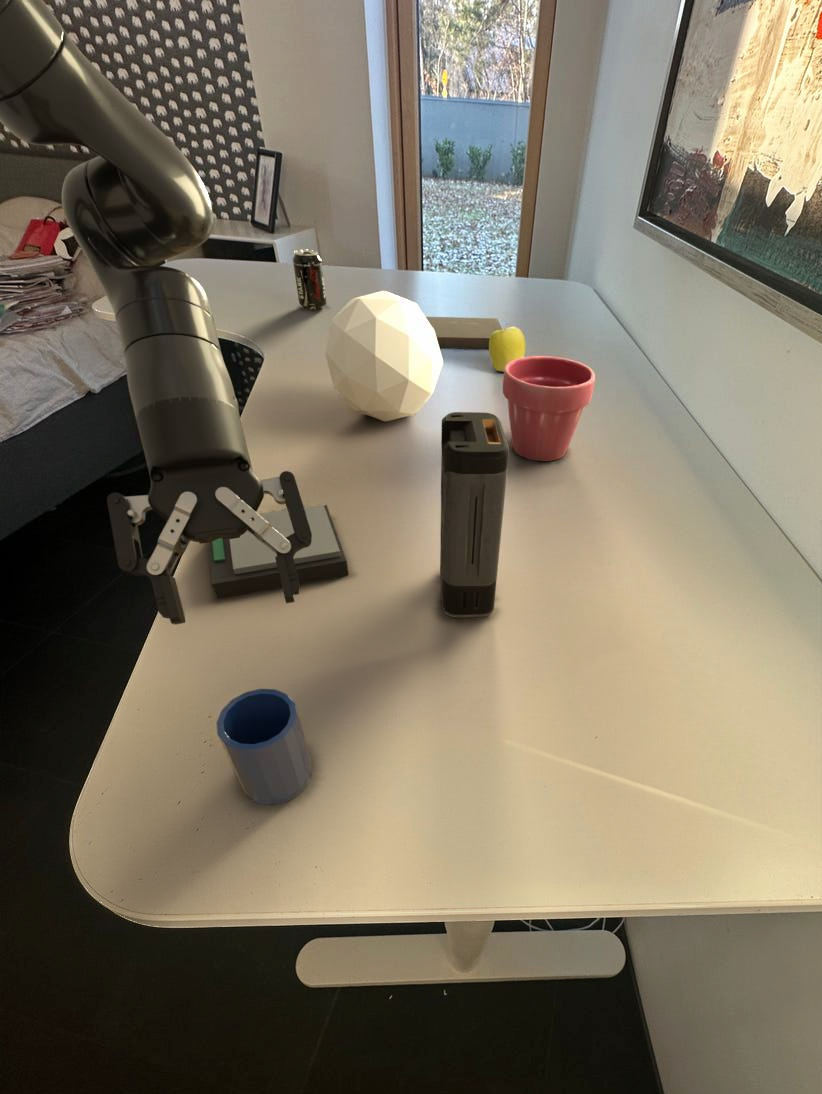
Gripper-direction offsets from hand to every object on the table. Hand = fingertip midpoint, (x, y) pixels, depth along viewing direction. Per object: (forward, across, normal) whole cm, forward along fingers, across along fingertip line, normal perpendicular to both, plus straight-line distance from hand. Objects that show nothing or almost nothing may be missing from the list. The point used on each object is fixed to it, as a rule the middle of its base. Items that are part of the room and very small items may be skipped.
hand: (236, 612), depth 46 cm
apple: (-46, +58, +64) cm, 98 cm away
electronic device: (+2, +24, +16) cm, 29 cm away
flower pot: (-21, +49, +38) cm, 66 cm away
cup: (+14, 0, +3) cm, 14 cm away
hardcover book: (-62, +54, +79) cm, 114 cm away
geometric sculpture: (-35, +28, +52) cm, 69 cm away
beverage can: (-83, +26, +100) cm, 133 cm away
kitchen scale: (-8, +4, +25) cm, 27 cm away
